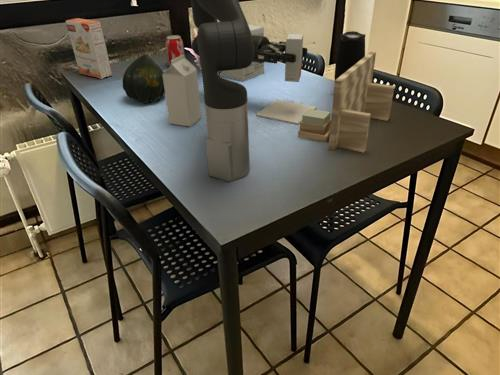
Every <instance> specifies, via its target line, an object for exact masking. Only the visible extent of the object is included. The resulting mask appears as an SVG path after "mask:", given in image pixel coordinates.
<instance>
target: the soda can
mask: <svg viewBox="0 0 500 375" xmlns="http://www.w3.org/2000/svg"><path fill="white" fill-rule="evenodd" d="M165 46H166V47H165V48H166V50H165V51H166V56H167V63H168V65H169V66H168V67H170V66H171V60H173V59H175V58H177V57H179V56H181V55H183V54H185V48H184V42H183V39H182V38H181V35H179V34H176V35H175V34H174V35H173V34H172V35H168V36H166V40H165Z"/></svg>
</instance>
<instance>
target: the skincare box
mask: <svg viewBox="0 0 500 375" xmlns="http://www.w3.org/2000/svg"><path fill="white" fill-rule="evenodd" d="M285 42H286V53H289V54H295V55H296V61H295V62H294V63H290V62H285V66H284V67H285V68H284V82H291V83H292V82H293V83H299V82H300V79H301V76H302V63H303V56H302V50H303V48H304V34H302V33H300V34H297V33H295V34H294V33H289V34H288V35H287V38H286V41H285Z"/></svg>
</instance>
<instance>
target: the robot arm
mask: <svg viewBox="0 0 500 375" xmlns="http://www.w3.org/2000/svg"><path fill="white" fill-rule="evenodd" d="M190 3H191V4H190V5H191V12H192V13H191V14H192V19H193V24H194V26H195V27H196V28H197V34H196V36H194V38H193V40H192V41H191V50H192V51H193V53H194V54H195V55H196V56H198V58H199V61H200V63H199V64H200V69H201V77H202V83H203V84H202V85H203V88H202V89H203V98H204V108H205V109H204V110H205V111H204V112H205V120H206V130H207V132H206V133H207V138H206V139H205V148H206V157H207V158H206V160H207V168H208V175H209V176H210V177H212V178H217V179H220V180H222V181H226V182H229V183H231V182H233V181H235V180H238V179H241V178H244V177H246V176H247V175H248V174H249V173H250V167H251V166H250V145H249V144H250V142H249V141H250V140H249V138H250V137H249V116H248V115H249V114H248V113H249V112H248V110H249V108H248V107H249V106H248V91H247V88H246V87H245V86H244V85H243V84H241V83H239V82H235V81H234V80H233V81H231V80H228V79H226V78H225V77H223V76H220V75H219V74H218V73H219V71H227V70H238V69H244V68H247V67H249V66H250V65H251V64H252V62H257V63H264V64H265V63H268V64H278V63H282V62H285V63H286V62H290V63H294V62H295V61H296V55H295V54H289V53H286V41H278V42H273V43H272V44H271V42H270V40H269V38H268V37H267V36H265V35H264V36H257V35H251V31H250V28H249V26H248V25H249V23H248V20H247V18H246V16H245V14H244V12H243V10H242V7H241V5H240V1H239V0H190ZM307 55H308V48H307V47H303V50H302V57H307Z"/></svg>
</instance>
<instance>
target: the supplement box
mask: <svg viewBox="0 0 500 375" xmlns="http://www.w3.org/2000/svg"><path fill="white" fill-rule="evenodd" d="M248 26H249V28H250V31H251V35H257V36H265V32H264V31H265V29H264V28H265V27H264V26H261V25H254V24H248ZM263 74H265V62H264V63H257V62H252V64H251V65H250V66H249V67H247V68H244V69H238V70H227V71H223V72H222V73H221V75H219V76H220V77H223V78H229V79H232V80H237V81H240V82H245V81H247V80H250V79H253V78H254V77H255V78H256V77H258V76H260V75H263Z"/></svg>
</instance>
